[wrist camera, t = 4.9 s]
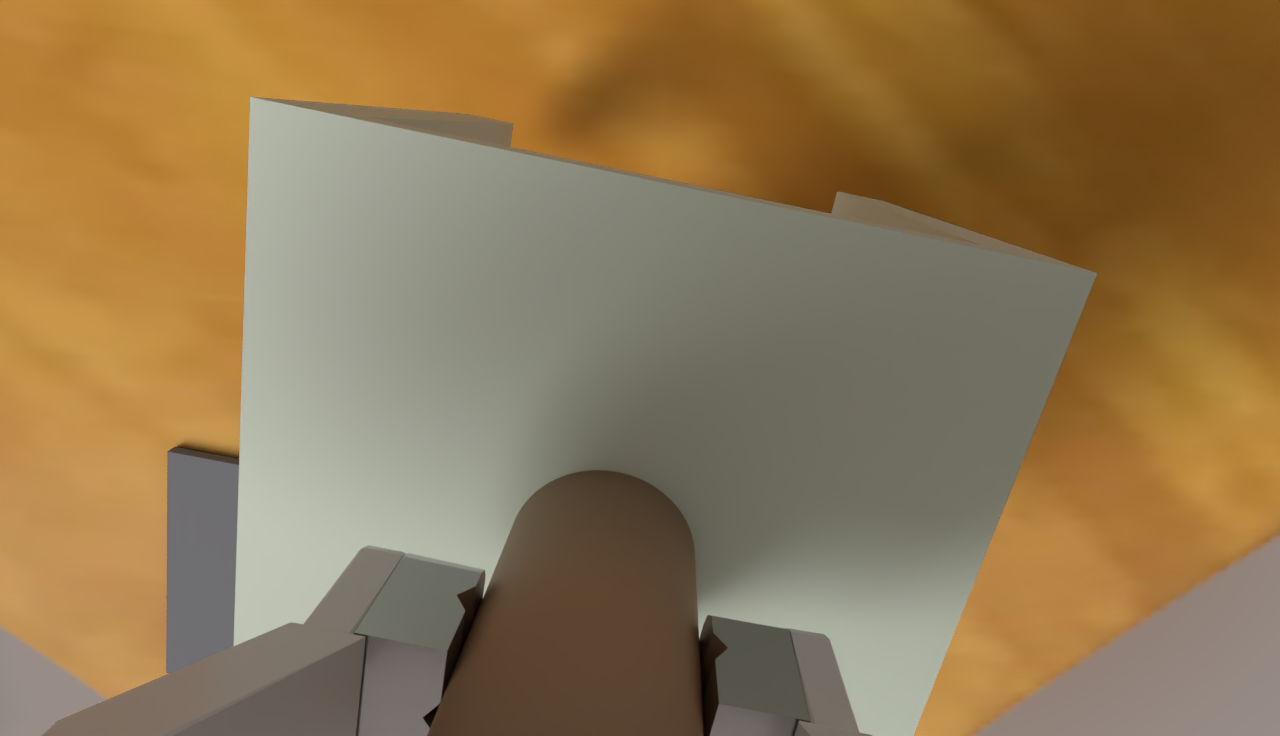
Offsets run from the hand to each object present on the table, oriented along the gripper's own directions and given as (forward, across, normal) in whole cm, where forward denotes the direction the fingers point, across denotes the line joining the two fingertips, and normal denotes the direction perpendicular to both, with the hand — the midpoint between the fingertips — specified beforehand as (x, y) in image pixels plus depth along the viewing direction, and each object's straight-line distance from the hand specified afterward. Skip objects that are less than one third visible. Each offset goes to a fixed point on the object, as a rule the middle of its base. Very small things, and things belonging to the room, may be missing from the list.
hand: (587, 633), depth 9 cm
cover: (+12, 0, 0) cm, 12 cm away
